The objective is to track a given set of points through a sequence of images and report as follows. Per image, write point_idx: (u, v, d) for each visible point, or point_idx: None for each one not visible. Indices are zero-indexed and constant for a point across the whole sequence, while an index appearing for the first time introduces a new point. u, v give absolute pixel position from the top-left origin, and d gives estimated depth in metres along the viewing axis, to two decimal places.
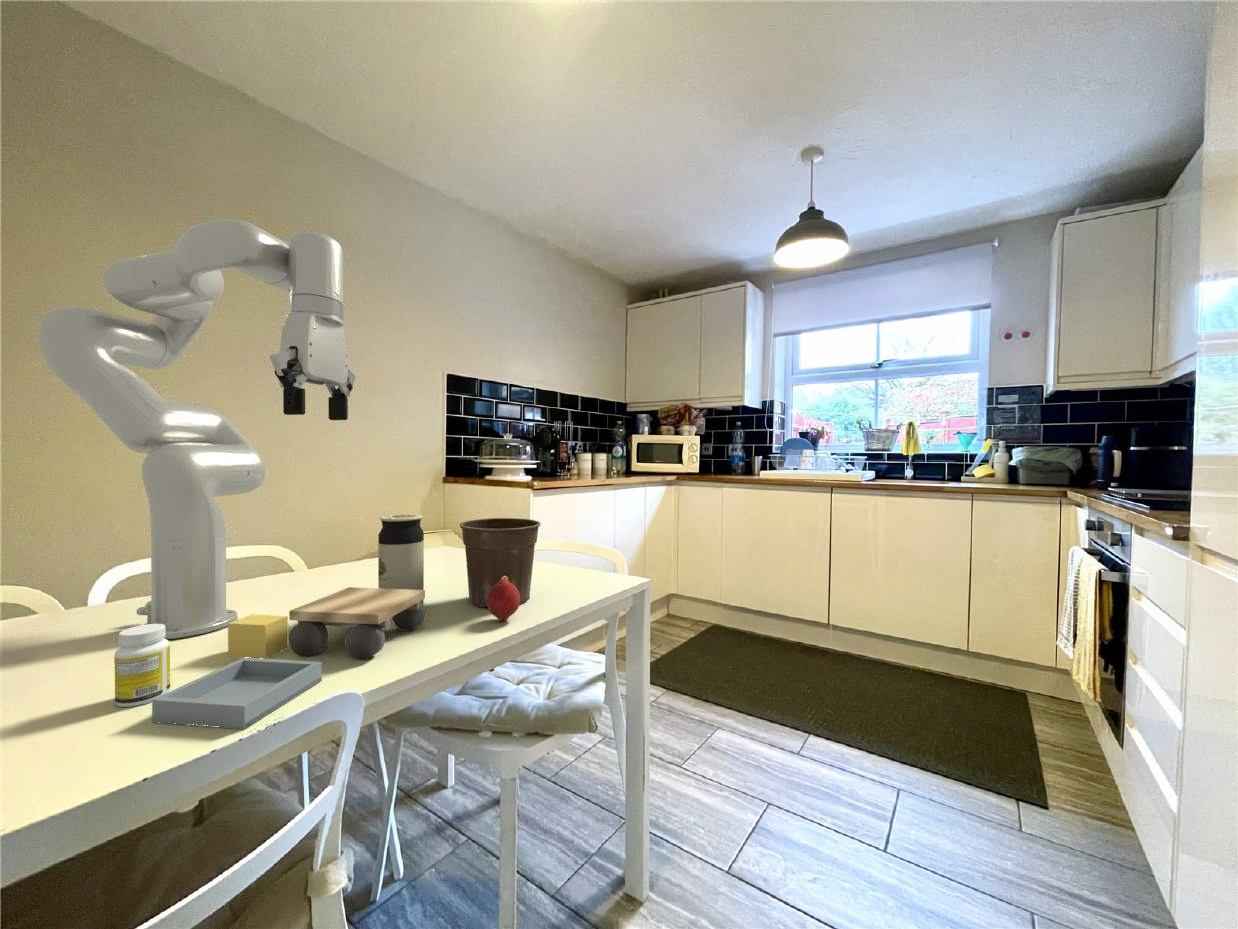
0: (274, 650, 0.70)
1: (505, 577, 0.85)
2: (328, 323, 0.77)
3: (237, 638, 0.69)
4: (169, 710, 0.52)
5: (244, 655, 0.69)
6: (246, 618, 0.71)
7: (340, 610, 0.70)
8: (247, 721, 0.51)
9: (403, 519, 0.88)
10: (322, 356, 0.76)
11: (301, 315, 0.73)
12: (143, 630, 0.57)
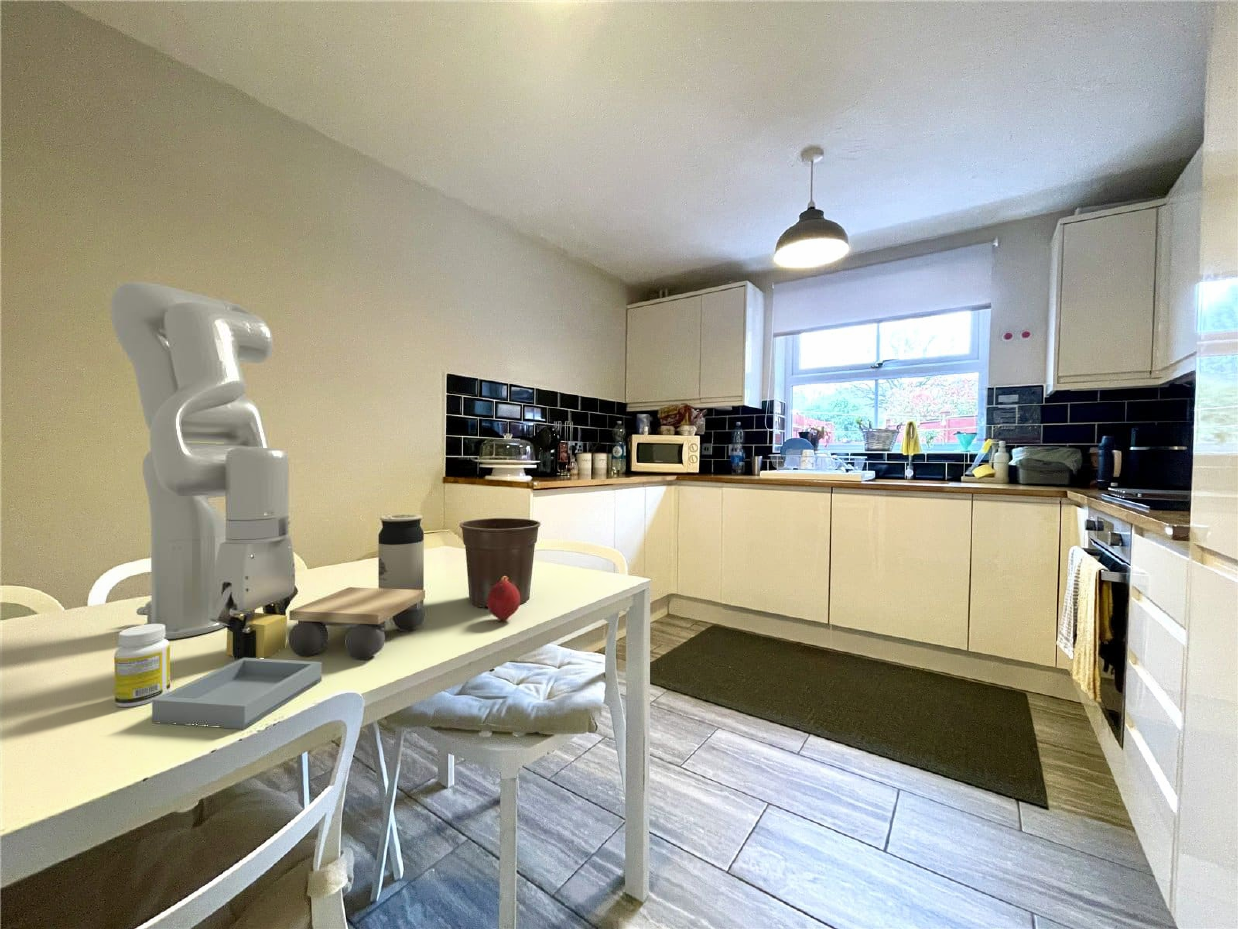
0: (272, 649, 0.70)
1: (505, 577, 0.85)
2: (269, 544, 0.70)
3: None
4: (169, 710, 0.52)
5: None
6: None
7: (340, 610, 0.70)
8: (247, 721, 0.51)
9: (403, 519, 0.88)
10: (262, 583, 0.69)
11: (236, 546, 0.66)
12: (143, 630, 0.57)
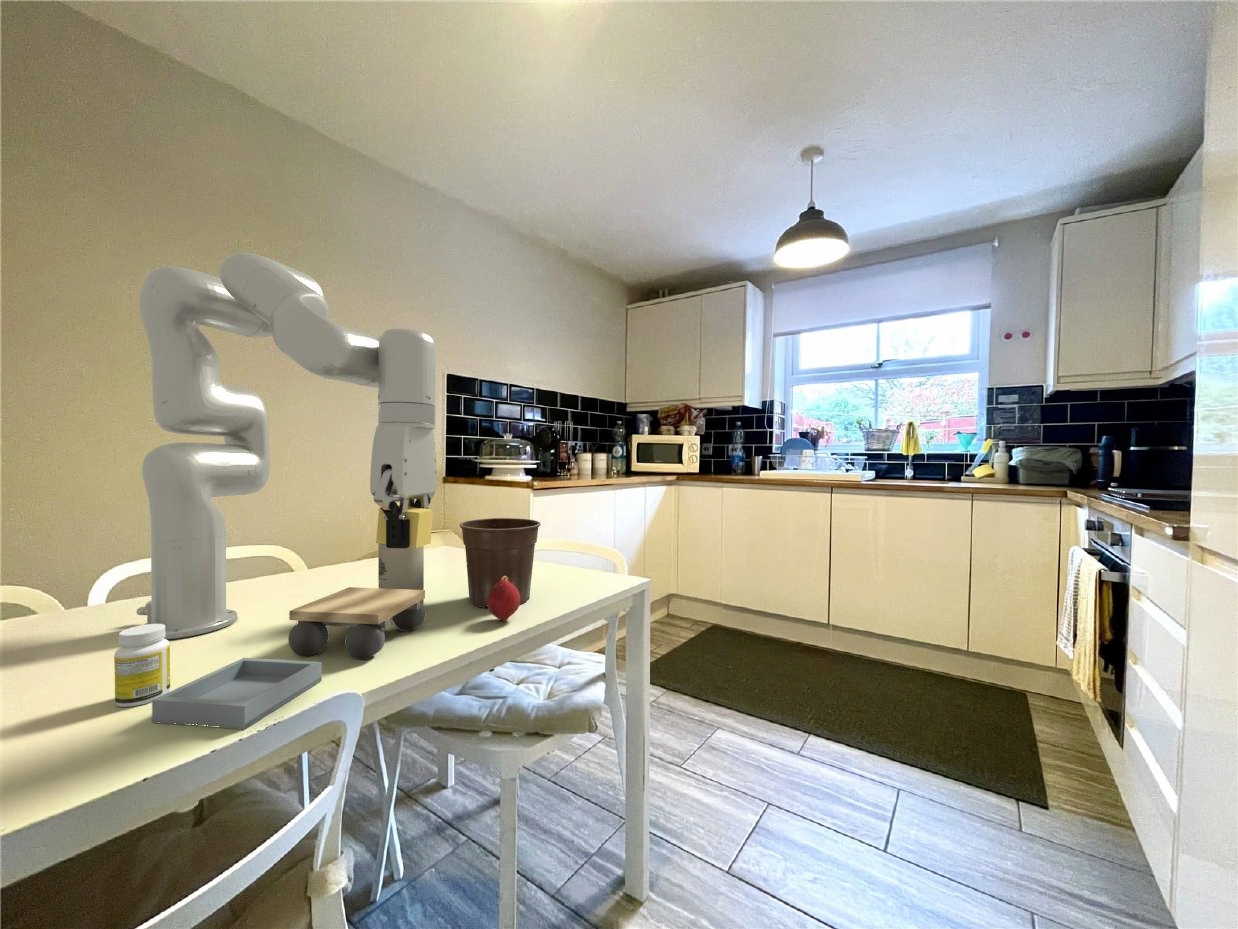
0: (422, 541, 0.68)
1: (505, 577, 0.85)
2: (421, 431, 0.67)
3: None
4: (169, 710, 0.52)
5: None
6: None
7: (340, 610, 0.70)
8: (247, 721, 0.51)
9: None
10: (415, 470, 0.66)
11: (395, 428, 0.64)
12: (143, 630, 0.57)
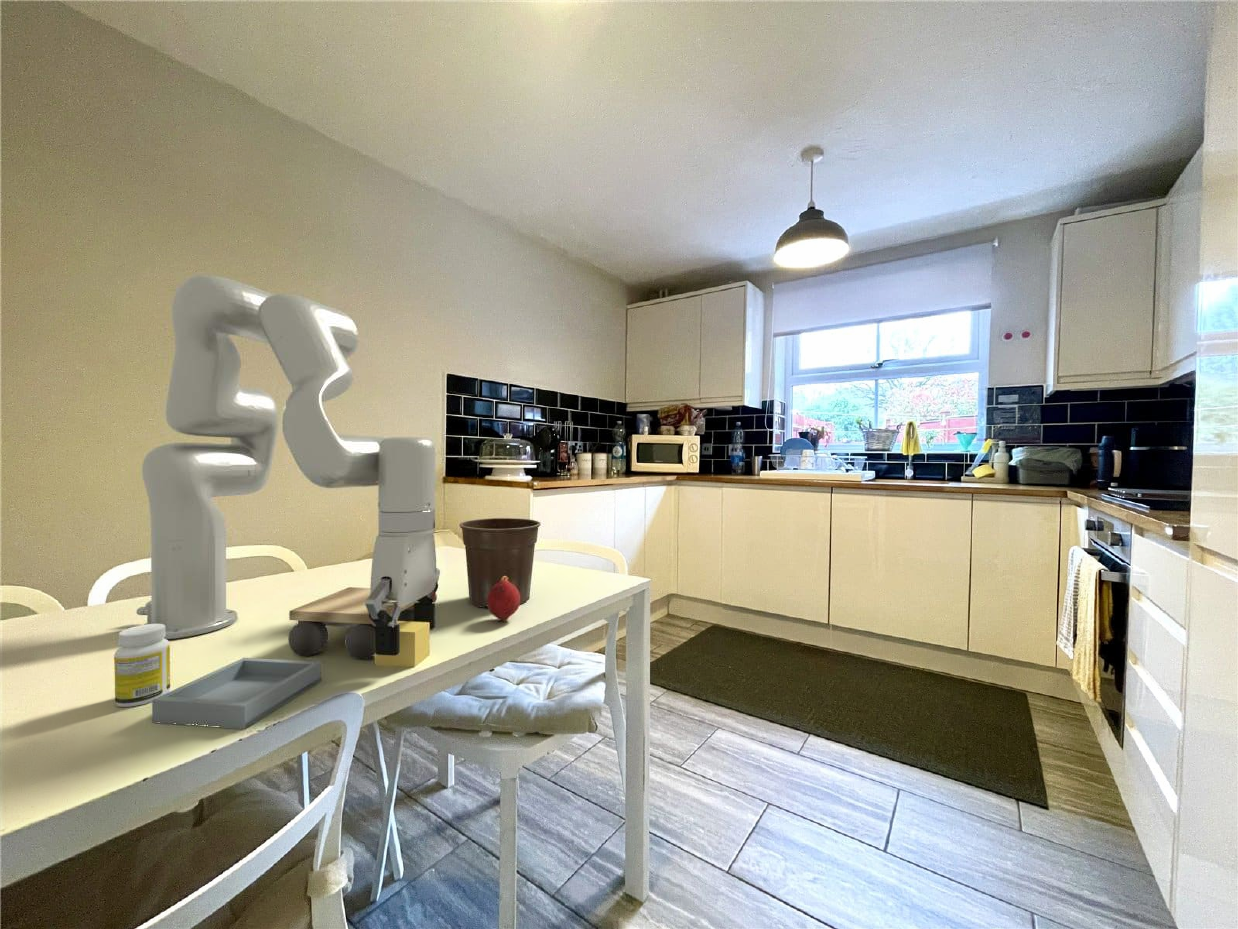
0: (421, 658, 0.68)
1: (506, 577, 0.85)
2: (421, 537, 0.67)
3: None
4: (169, 710, 0.52)
5: (392, 663, 0.67)
6: None
7: (340, 610, 0.70)
8: (247, 721, 0.51)
9: None
10: (415, 578, 0.66)
11: (395, 539, 0.64)
12: (143, 630, 0.57)
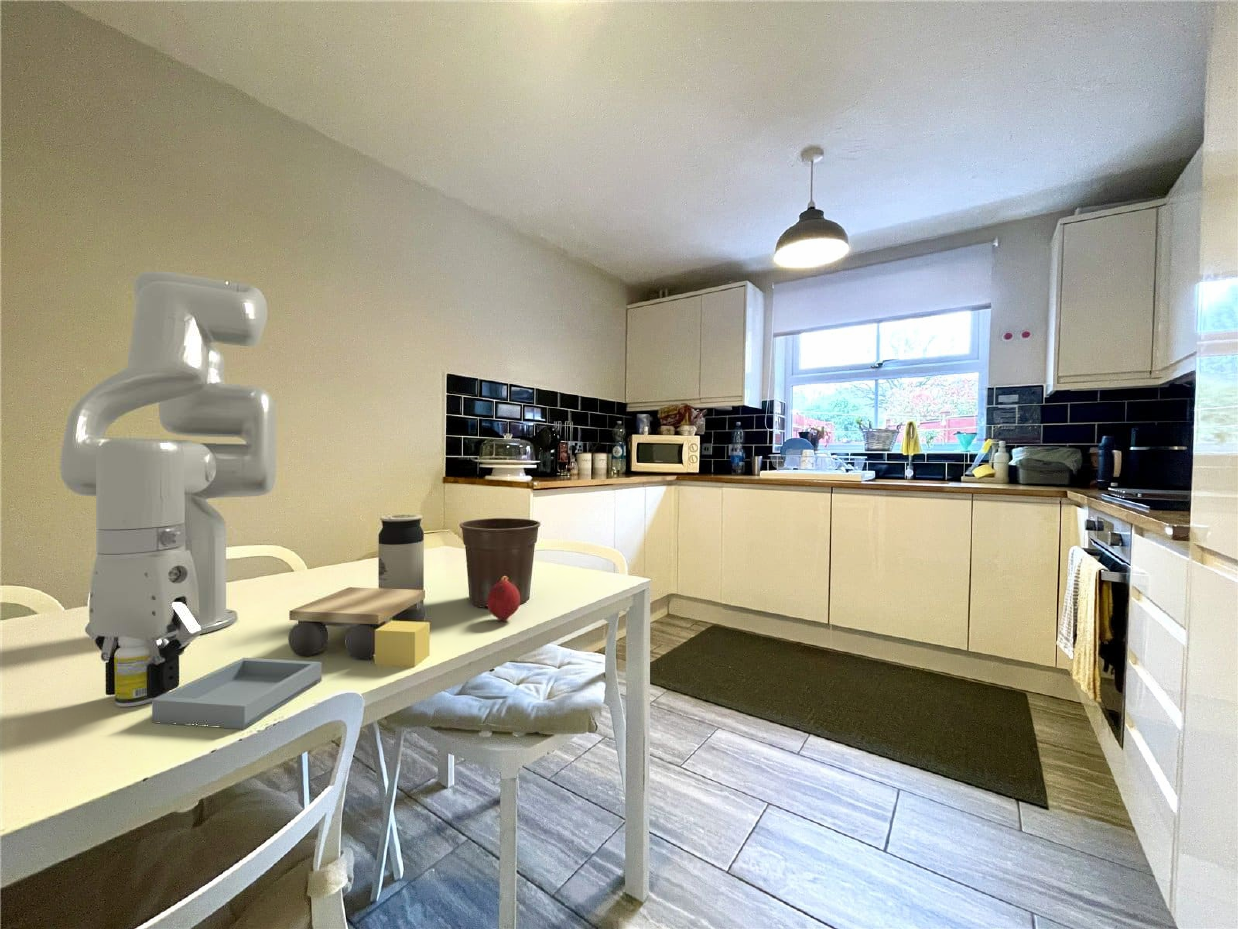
0: (421, 658, 0.68)
1: (505, 577, 0.85)
2: (113, 561, 0.55)
3: (384, 645, 0.67)
4: (169, 710, 0.52)
5: (392, 663, 0.67)
6: (389, 624, 0.69)
7: (340, 610, 0.70)
8: (247, 721, 0.51)
9: (403, 519, 0.88)
10: (106, 608, 0.55)
11: None
12: None
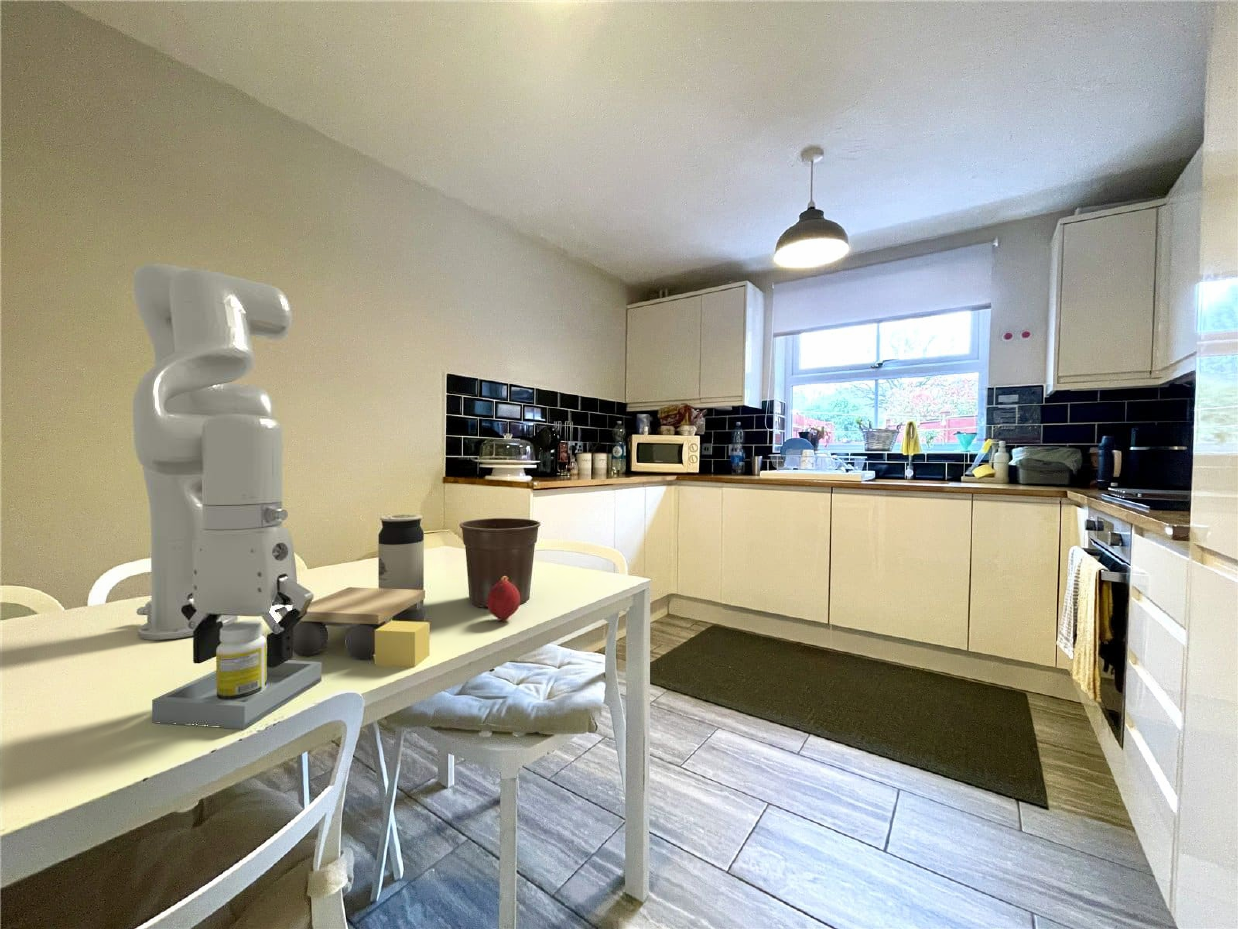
0: (421, 658, 0.68)
1: (505, 577, 0.85)
2: (219, 537, 0.54)
3: (384, 645, 0.67)
4: (169, 710, 0.52)
5: (392, 663, 0.67)
6: (389, 624, 0.69)
7: (340, 610, 0.70)
8: (247, 721, 0.51)
9: (403, 519, 0.88)
10: (211, 585, 0.55)
11: None
12: (242, 626, 0.57)
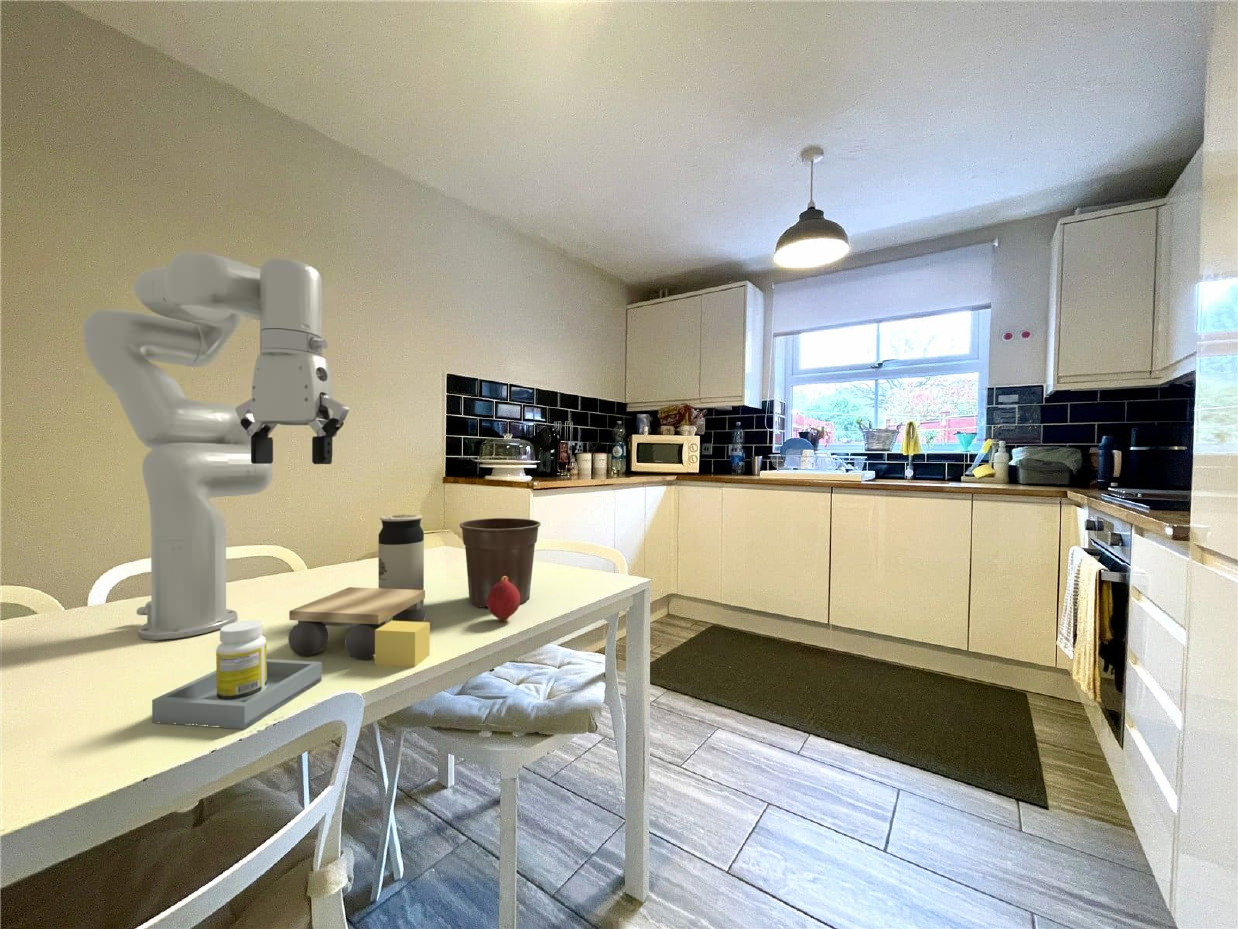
0: (421, 658, 0.68)
1: (506, 577, 0.85)
2: (273, 357, 0.68)
3: (385, 645, 0.67)
4: (169, 710, 0.52)
5: (392, 663, 0.67)
6: (389, 624, 0.69)
7: (340, 610, 0.70)
8: (247, 721, 0.51)
9: (403, 519, 0.88)
10: (267, 397, 0.68)
11: None
12: (243, 626, 0.57)
